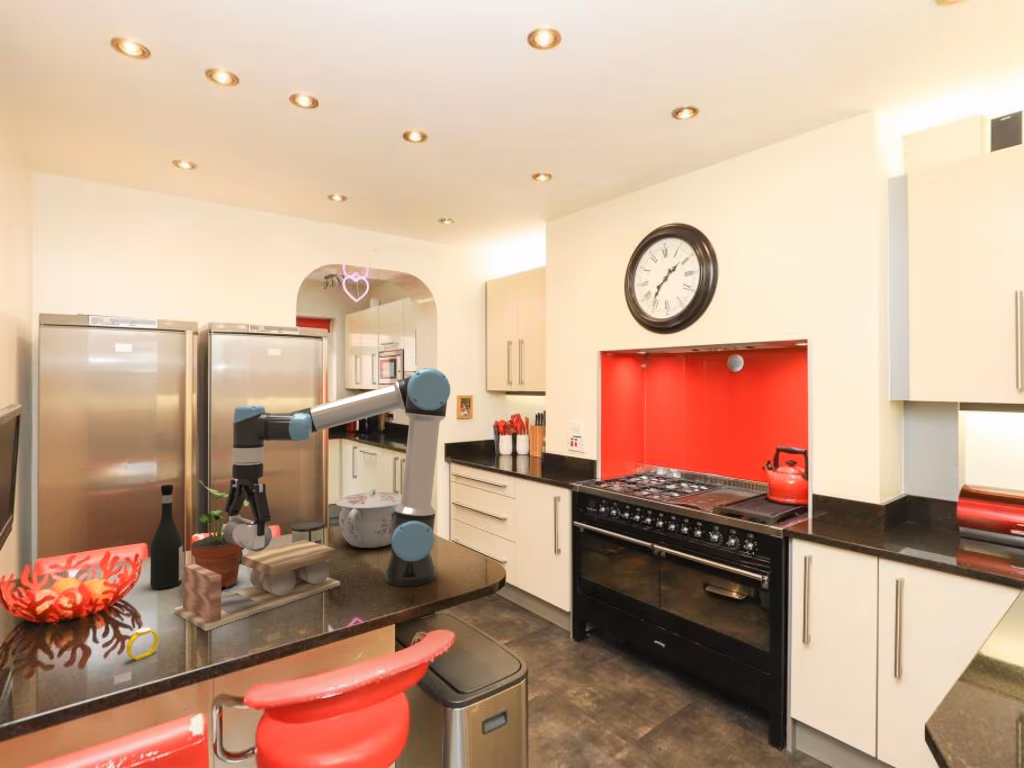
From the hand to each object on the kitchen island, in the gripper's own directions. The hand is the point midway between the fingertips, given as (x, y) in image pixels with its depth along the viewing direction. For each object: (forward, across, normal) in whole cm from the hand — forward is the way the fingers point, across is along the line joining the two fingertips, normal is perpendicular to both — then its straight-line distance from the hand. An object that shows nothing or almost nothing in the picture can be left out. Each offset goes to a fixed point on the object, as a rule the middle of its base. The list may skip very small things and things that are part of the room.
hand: (246, 543), depth 145 cm
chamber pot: (+17, +21, -60) cm, 65 cm away
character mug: (+18, +40, -17) cm, 47 cm away
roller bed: (+17, +3, -6) cm, 18 cm away
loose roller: (+1, 0, 0) cm, 1 cm away
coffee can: (+17, +16, -30) cm, 38 cm away
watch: (+18, -8, +27) cm, 33 cm away
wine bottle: (+18, +36, +5) cm, 40 cm away
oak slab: (+9, +3, -14) cm, 17 cm away
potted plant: (+18, +23, -5) cm, 29 cm away
